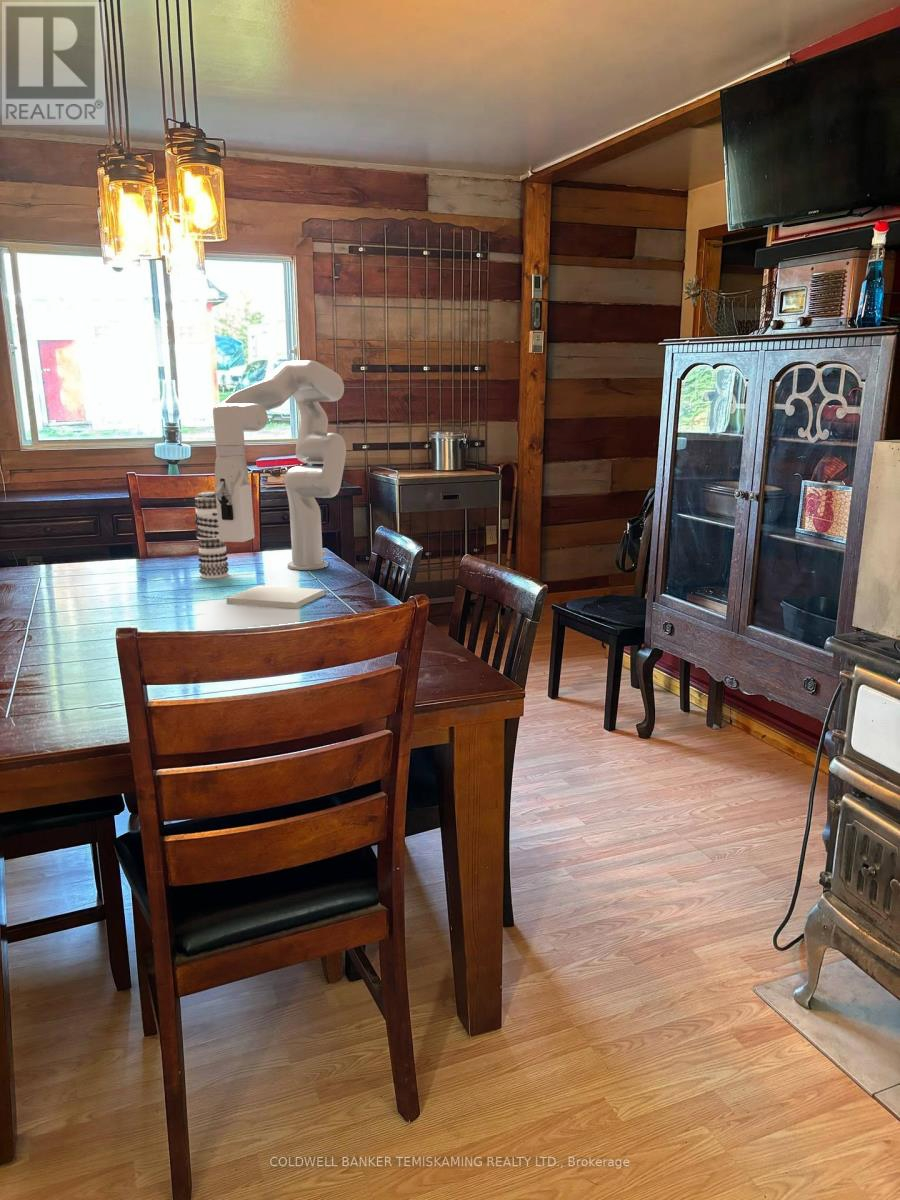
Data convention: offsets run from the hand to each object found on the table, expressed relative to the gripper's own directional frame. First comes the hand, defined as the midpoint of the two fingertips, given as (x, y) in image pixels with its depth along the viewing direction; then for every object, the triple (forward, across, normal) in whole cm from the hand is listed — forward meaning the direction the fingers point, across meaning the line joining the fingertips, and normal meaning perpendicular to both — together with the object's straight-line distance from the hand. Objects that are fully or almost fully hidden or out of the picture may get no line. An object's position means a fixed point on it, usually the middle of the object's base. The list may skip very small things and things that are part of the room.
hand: (235, 517), depth 224 cm
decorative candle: (+21, -14, -18) cm, 31 cm away
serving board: (+20, +9, +16) cm, 27 cm away
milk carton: (+7, 0, 0) cm, 7 cm away
